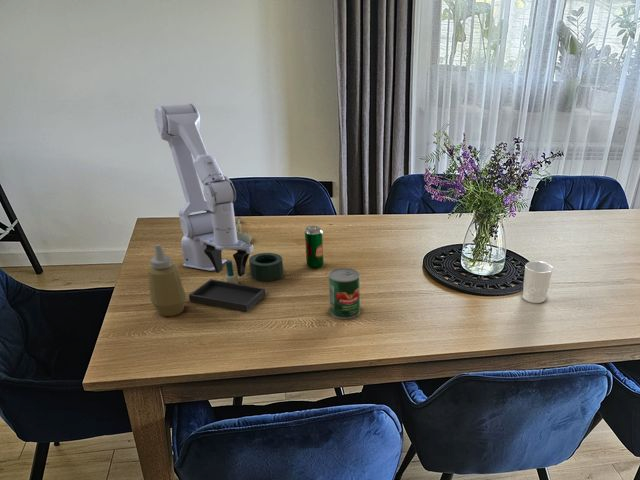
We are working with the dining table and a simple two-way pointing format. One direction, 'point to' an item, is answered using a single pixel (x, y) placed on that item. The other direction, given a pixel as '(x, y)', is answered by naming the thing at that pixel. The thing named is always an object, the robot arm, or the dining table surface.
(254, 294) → the tray
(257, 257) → the jar
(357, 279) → the canned tomato
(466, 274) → the dining table surface
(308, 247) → the soda can
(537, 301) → the white cup
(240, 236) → the soupspoon
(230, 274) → the teal peg on base
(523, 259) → the dining table surface
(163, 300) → the squeeze bottle
